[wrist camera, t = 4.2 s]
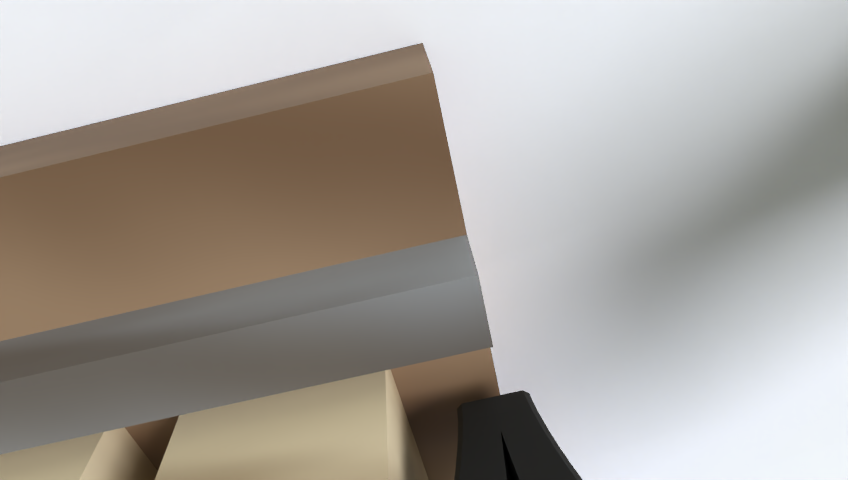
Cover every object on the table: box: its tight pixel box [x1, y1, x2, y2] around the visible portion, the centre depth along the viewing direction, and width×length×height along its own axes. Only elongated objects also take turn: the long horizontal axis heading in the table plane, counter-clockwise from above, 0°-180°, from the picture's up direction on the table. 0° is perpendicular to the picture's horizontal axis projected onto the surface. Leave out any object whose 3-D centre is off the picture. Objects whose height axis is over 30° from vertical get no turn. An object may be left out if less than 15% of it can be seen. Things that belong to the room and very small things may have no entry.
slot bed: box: [0, 43, 500, 480], centre depth 12 cm, size 14×14×3 cm
